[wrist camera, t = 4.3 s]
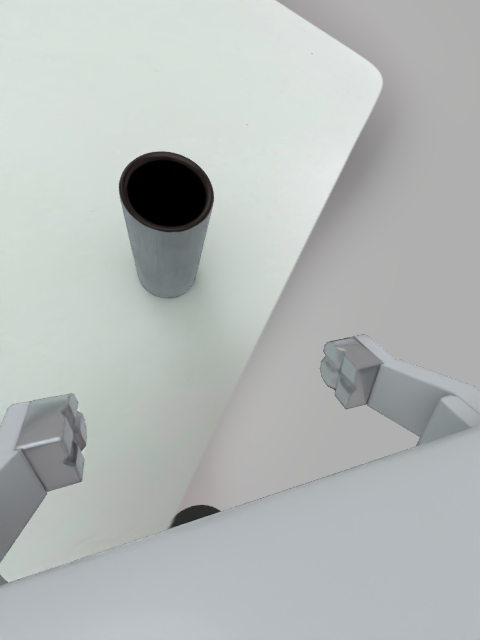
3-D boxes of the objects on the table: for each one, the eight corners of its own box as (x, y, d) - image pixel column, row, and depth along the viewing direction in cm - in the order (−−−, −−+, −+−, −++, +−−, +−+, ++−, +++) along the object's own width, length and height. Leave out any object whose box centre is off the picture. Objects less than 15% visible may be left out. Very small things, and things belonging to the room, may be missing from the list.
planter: (201, 255, 26) (223, 168, 16) (187, 305, 24) (201, 244, 15) (147, 238, 25) (135, 137, 15) (129, 289, 24) (104, 213, 14)
